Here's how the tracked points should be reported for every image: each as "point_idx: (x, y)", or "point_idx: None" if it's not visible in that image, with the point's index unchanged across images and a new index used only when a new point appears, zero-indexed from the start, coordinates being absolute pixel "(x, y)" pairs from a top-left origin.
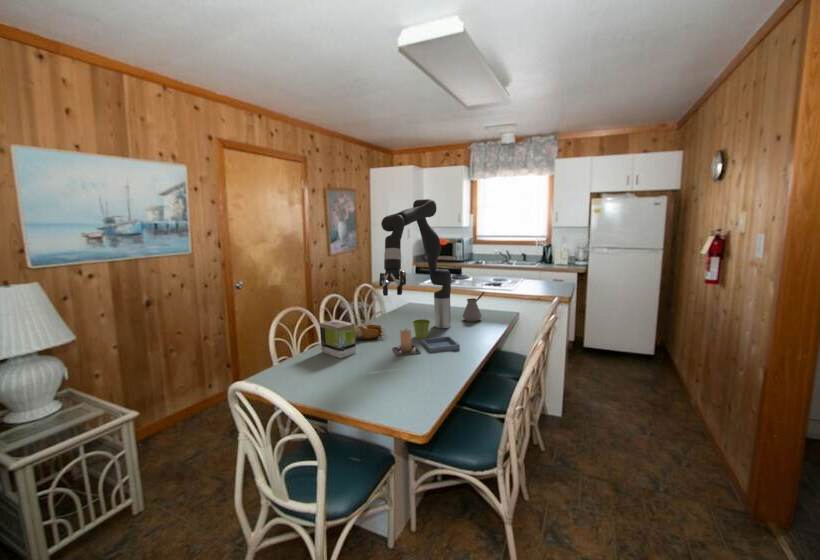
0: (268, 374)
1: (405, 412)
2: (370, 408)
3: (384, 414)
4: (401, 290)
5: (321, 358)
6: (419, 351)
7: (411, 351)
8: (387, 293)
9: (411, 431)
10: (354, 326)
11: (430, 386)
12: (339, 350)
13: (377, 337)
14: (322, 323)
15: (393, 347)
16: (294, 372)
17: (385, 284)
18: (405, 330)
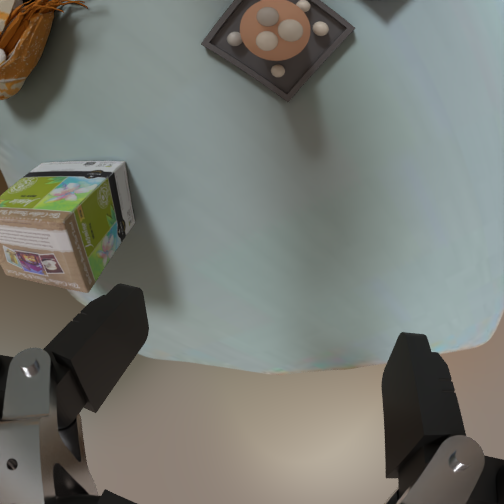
0: None
1: (459, 326)
2: None
3: (430, 342)
4: (446, 398)
5: None
6: (346, 23)
7: None
8: (126, 305)
9: (474, 346)
10: (70, 215)
11: (482, 239)
12: (123, 237)
13: (52, 10)
14: (10, 273)
15: (204, 42)
16: None
17: (79, 445)
18: (284, 39)
